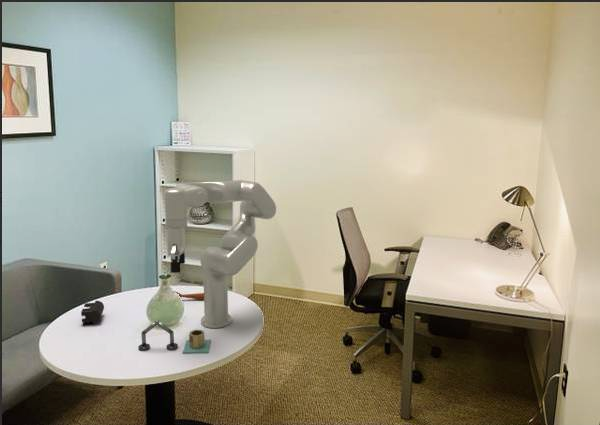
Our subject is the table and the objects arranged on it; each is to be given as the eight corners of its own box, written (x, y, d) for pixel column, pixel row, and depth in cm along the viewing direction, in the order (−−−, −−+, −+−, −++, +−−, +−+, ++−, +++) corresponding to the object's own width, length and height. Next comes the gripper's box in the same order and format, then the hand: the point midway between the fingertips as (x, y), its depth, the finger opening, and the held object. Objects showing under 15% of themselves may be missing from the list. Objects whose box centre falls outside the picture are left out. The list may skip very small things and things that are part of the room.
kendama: (205, 294, 214) (159, 293, 210) (205, 305, 216) (159, 304, 212) (206, 287, 219) (161, 286, 215) (205, 298, 221) (161, 297, 218)
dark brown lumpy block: (101, 325, 191) (100, 309, 189) (82, 326, 189) (80, 311, 188) (104, 314, 200) (103, 299, 199) (86, 316, 199) (85, 301, 197)
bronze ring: (191, 342, 177) (190, 329, 176) (205, 341, 178) (204, 329, 176) (188, 349, 172) (188, 336, 171) (203, 348, 172) (203, 336, 171)
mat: (186, 341, 179) (186, 340, 179) (210, 341, 180) (210, 339, 179) (182, 353, 170) (182, 352, 170) (208, 353, 171) (208, 351, 171)
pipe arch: (140, 345, 175) (138, 318, 173) (178, 344, 176) (177, 317, 174) (137, 351, 171) (135, 323, 169) (176, 350, 172) (175, 322, 170)
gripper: (170, 217, 179) (172, 260, 183) (160, 228, 162) (162, 276, 166) (190, 217, 180) (192, 260, 184) (183, 228, 163) (184, 275, 167)
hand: (178, 267), depth 175 cm, fingers open, 9 cm apart
